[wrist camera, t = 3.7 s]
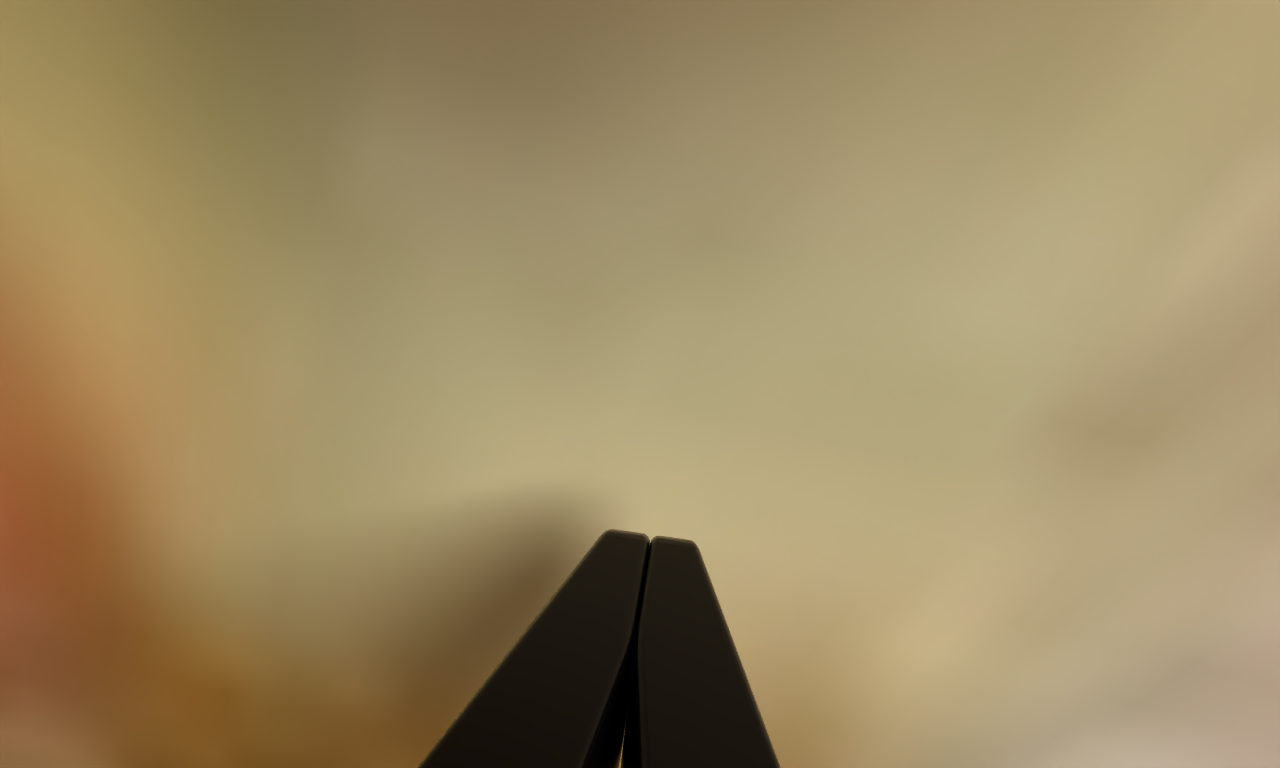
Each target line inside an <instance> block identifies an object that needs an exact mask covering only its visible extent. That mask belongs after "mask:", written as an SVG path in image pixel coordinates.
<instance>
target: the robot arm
mask: <svg viewBox="0 0 1280 768" xmlns="http://www.w3.org/2000/svg"><path fill="white" fill-rule="evenodd" d="M624 732H625V733H624ZM623 738H624V742H623ZM622 745H623V751H622ZM621 751H622V760H621V768H781V767H780V765H779V762H778V759H777V757H776V754H775V751H774V749H773V746H772V743H771V741H770V738H769V735H768V733H767V730H766V727H765V725H764V722H763V719H762V717H761V714H760V711H759V709H758V706H757V703H756V701H755V698H754V695H753V692H752V690H751V687H750V684H749V682H748V679H747V676H746V674H745V671H744V668H743V666H742V663H741V660H740V658H739V655H738V652H737V650H736V647H735V644H734V642H733V639H732V636H731V634H730V631H729V628H728V625H727V623H726V620H725V617H724V615H723V612H722V609H721V607H720V604H719V601H718V599H717V596H716V593H715V591H714V588H713V585H712V583H711V580H710V577H709V575H708V572H707V569H706V567H705V564H704V561H703V559H702V556H701V553H700V551H699V548H698V547H697V545H696V544H695V543H694V542H693V541H691V540H685V539H678V538H671V537H664V536H656V537H654V538H653V539H652V540H651V543H650V540H649V538H648V536H647V535H645V534H642V533H635V532H628V531H621V530H614V529H610V530H607V531H605V532H604V533H603V534H602V535H601V536H600V537H599V539H598V540H597V541H596V542H595V544H594V545H593V546H592V547H591V549H590V550H589V551H588V553H587V554H586V555H585V556H584V558H583V559H582V560H581V561H580V563H579V564H578V565H577V566H576V568H575V569H574V570H573V571H572V573H571V574H570V575H569V577H568V578H567V579H566V580H565V582H564V583H563V584H562V585H561V587H560V588H559V589H558V590H557V592H556V593H555V594H554V596H553V597H552V598H551V599H550V601H549V602H548V603H547V604H546V606H545V607H544V608H543V609H542V611H541V612H540V613H539V614H538V616H537V617H536V618H535V620H534V621H533V622H532V623H531V625H530V626H529V627H528V628H527V630H526V631H525V632H524V633H523V635H522V636H521V637H520V638H519V640H518V641H517V642H516V644H515V645H514V646H513V647H512V649H511V650H510V651H509V652H508V654H507V655H506V656H505V657H504V659H503V660H502V661H501V662H500V664H499V665H498V666H497V668H496V669H495V670H494V671H493V673H492V674H491V675H490V676H489V678H488V679H487V680H486V681H485V683H484V684H483V685H482V686H481V688H480V689H479V690H478V692H477V693H476V694H475V695H474V697H473V698H472V699H471V700H470V702H469V703H468V704H467V705H466V707H465V708H464V709H463V711H462V712H461V713H460V714H459V716H458V717H457V718H456V719H455V721H454V722H453V723H452V724H451V726H450V727H449V728H448V729H447V731H446V732H445V733H444V735H443V736H442V737H441V738H440V740H439V741H438V742H437V743H436V745H435V746H434V747H433V748H432V750H431V751H430V752H429V753H428V755H427V756H426V757H425V759H424V760H423V761H422V762H421V764H420V765H419V766H418V767H417V768H619V762H620V756H621Z"/></svg>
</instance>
